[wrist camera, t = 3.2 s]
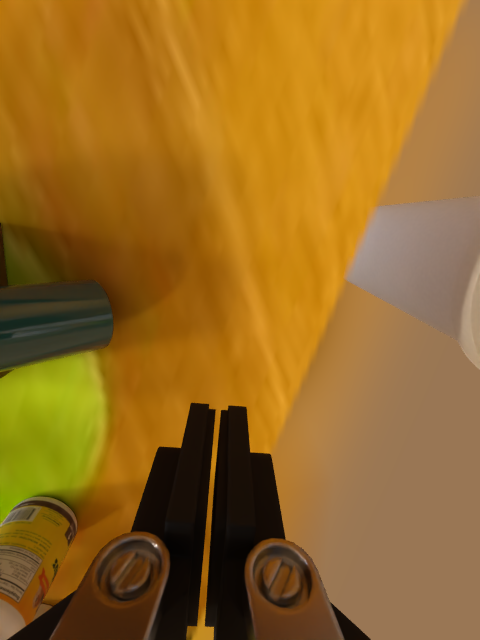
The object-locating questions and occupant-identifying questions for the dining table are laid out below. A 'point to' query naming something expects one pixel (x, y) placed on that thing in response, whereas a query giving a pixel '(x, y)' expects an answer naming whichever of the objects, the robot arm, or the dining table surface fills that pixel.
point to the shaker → (52, 321)
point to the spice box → (2, 278)
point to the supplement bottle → (31, 557)
